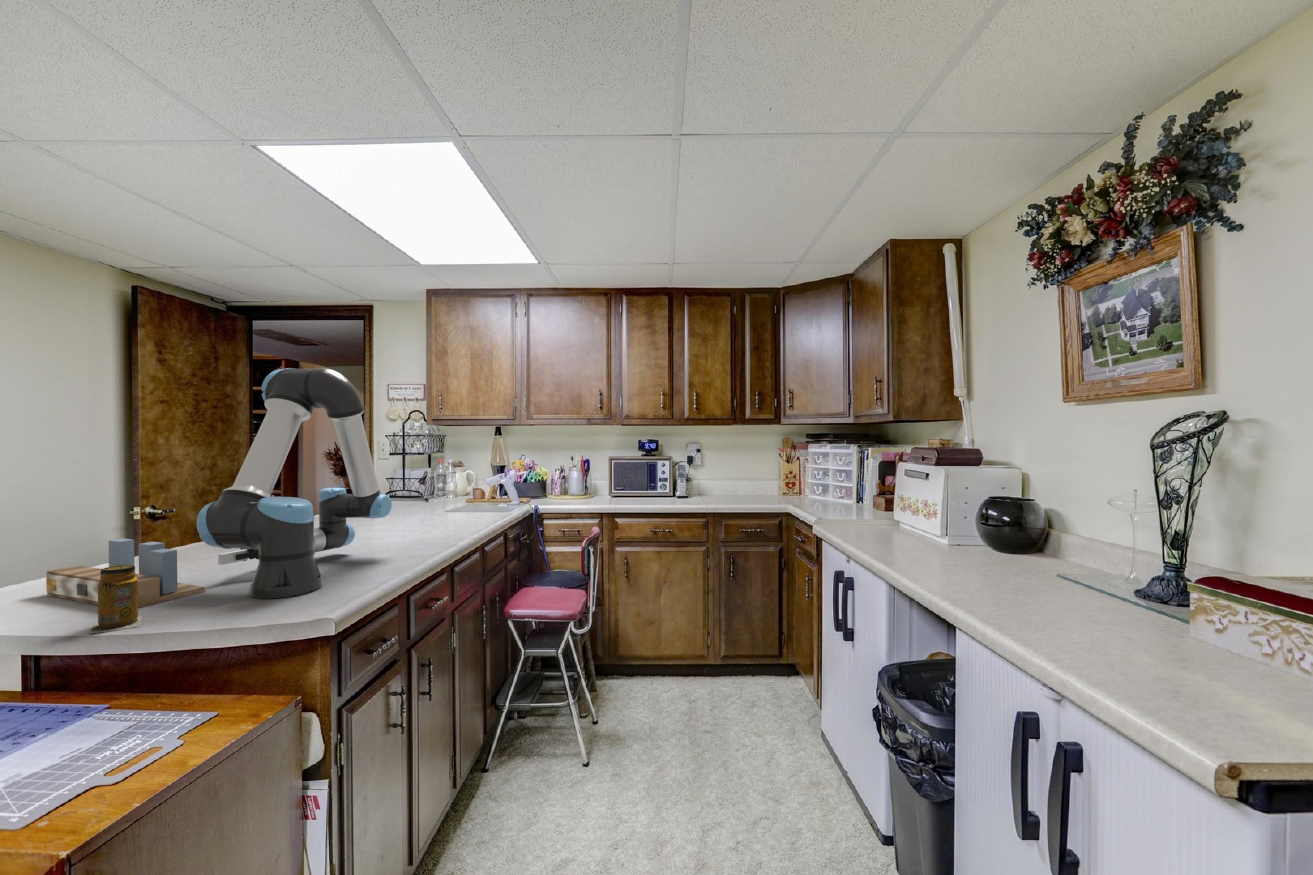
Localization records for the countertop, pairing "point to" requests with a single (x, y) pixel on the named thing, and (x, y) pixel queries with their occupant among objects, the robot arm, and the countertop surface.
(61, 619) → the countertop surface
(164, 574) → the key
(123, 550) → the key
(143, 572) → the key middle
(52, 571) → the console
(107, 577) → the condiment
